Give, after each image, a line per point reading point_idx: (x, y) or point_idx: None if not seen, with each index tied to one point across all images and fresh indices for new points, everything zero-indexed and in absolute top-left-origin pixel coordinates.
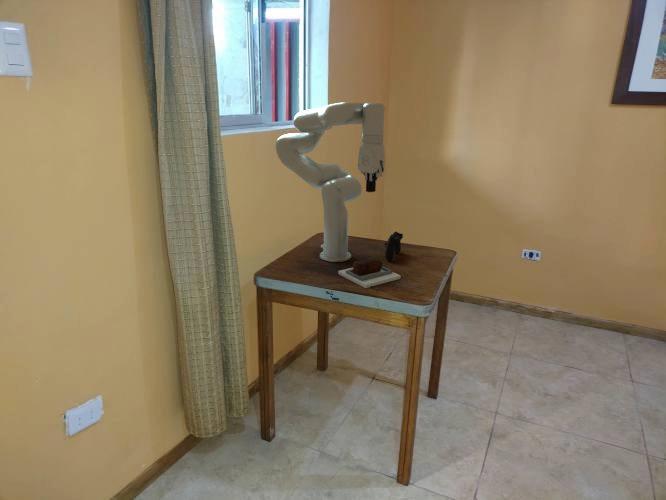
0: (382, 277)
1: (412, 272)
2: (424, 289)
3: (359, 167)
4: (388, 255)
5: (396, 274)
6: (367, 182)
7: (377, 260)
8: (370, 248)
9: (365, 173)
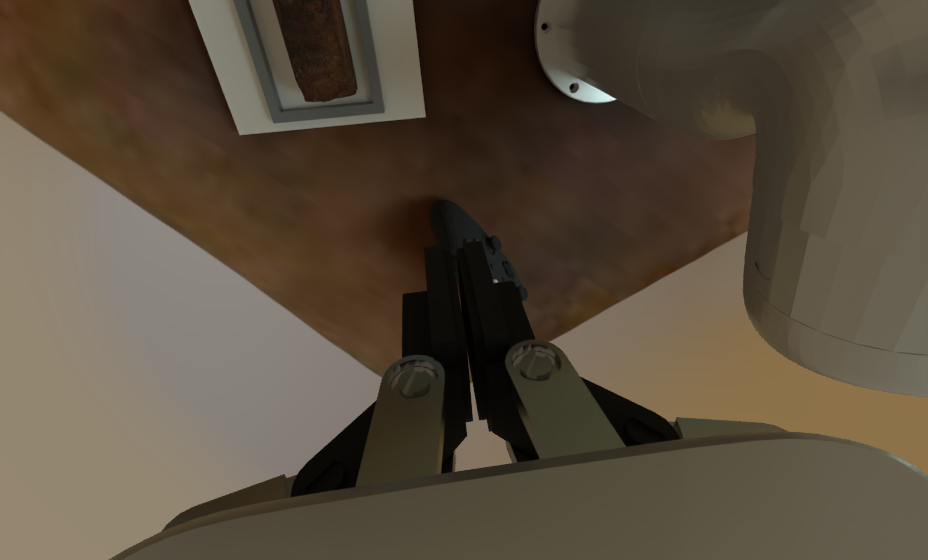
0: (233, 42)
1: (297, 211)
2: (105, 145)
3: (874, 527)
4: (436, 209)
5: (256, 126)
6: (475, 322)
7: (300, 74)
8: (594, 223)
9: (597, 446)
